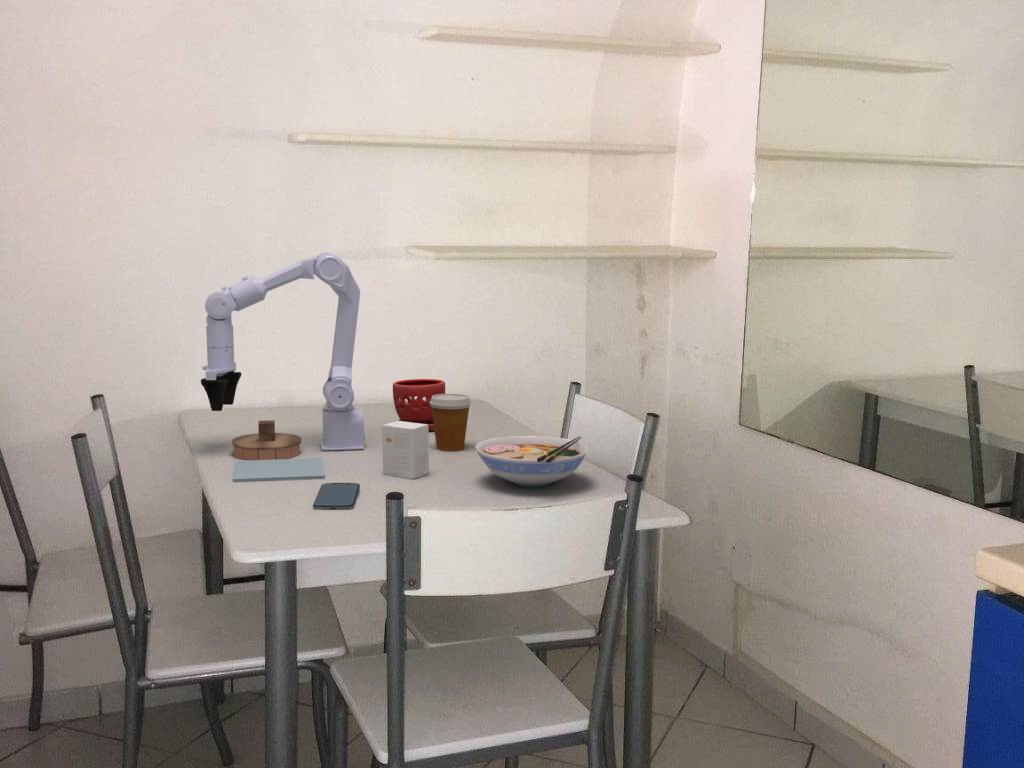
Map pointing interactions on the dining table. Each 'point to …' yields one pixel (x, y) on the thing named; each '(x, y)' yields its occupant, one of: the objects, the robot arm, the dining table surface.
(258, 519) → the dining table surface
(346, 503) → the smartphone
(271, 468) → the mat
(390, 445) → the small box
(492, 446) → the ramen bowl
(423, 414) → the plant pot
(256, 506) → the dining table surface
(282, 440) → the lid
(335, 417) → the robot arm
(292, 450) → the dish
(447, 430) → the disposable coffee cup
